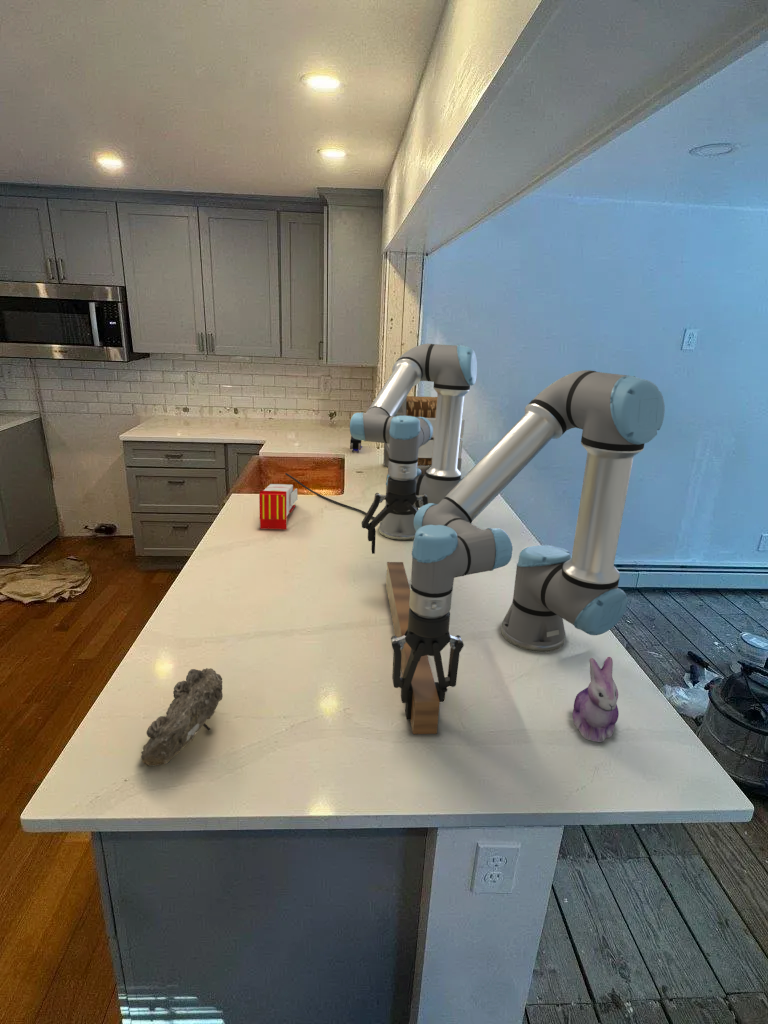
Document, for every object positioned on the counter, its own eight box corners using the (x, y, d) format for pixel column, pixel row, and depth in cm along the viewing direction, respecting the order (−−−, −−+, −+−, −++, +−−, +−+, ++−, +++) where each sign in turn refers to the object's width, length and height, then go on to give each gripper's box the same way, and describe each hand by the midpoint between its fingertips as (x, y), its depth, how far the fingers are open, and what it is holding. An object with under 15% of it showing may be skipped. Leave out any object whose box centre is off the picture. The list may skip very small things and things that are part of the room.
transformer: (382, 463, 289) (386, 382, 275) (445, 464, 293) (451, 384, 279) (390, 482, 257) (394, 392, 243) (460, 483, 261) (468, 394, 247)
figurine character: (361, 456, 307) (362, 446, 320) (362, 442, 303) (362, 433, 317) (349, 455, 306) (350, 446, 320) (349, 442, 303) (350, 433, 316)
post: (385, 585, 163) (387, 561, 160) (401, 585, 163) (403, 562, 161) (412, 734, 106) (415, 702, 104) (436, 733, 106) (439, 701, 104)
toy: (299, 479, 223) (289, 492, 194) (299, 512, 226) (289, 530, 197) (268, 478, 223) (253, 491, 193) (268, 512, 225) (254, 529, 196)
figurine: (597, 751, 104) (612, 683, 98) (557, 717, 112) (569, 652, 107) (633, 736, 108) (649, 669, 103) (592, 704, 116) (605, 641, 111)
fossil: (171, 669, 114) (224, 637, 109) (205, 700, 117) (257, 670, 112) (115, 759, 95) (175, 724, 90) (157, 793, 97) (218, 762, 92)
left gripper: (354, 480, 142) (352, 557, 149) (452, 481, 144) (445, 558, 151) (353, 471, 149) (351, 546, 156) (447, 473, 151) (440, 546, 159)
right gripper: (382, 620, 98) (377, 728, 106) (482, 619, 100) (470, 726, 108) (379, 599, 105) (375, 702, 113) (472, 599, 107) (461, 701, 115)
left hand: (398, 552), depth 154 cm, fingers open, 13 cm apart
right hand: (421, 714), depth 111 cm, fingers closed on post, 5 cm apart
